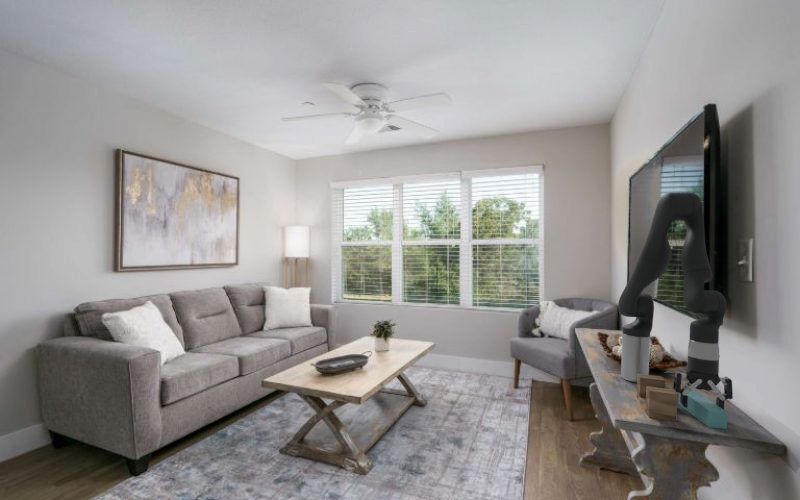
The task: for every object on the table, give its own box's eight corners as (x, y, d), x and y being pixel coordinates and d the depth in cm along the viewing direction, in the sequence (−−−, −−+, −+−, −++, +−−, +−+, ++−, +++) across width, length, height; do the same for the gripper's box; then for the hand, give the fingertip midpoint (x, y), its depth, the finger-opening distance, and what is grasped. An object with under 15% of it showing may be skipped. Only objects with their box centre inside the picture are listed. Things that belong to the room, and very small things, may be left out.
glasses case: (678, 404, 129) (678, 389, 129) (694, 405, 128) (694, 390, 128) (708, 427, 112) (709, 410, 112) (726, 429, 111) (727, 412, 111)
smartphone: (657, 371, 161) (643, 360, 175) (657, 374, 161) (643, 363, 175) (677, 373, 159) (662, 362, 174) (677, 376, 159) (662, 364, 174)
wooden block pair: (636, 397, 133) (637, 373, 133) (660, 400, 131) (661, 376, 131) (648, 417, 117) (649, 390, 117) (676, 421, 115) (677, 394, 115)
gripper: (726, 355, 121) (725, 408, 121) (671, 350, 126) (670, 400, 126) (737, 362, 114) (736, 418, 114) (679, 356, 119) (677, 409, 119)
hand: (701, 409), depth 120 cm, fingers open, 8 cm apart
